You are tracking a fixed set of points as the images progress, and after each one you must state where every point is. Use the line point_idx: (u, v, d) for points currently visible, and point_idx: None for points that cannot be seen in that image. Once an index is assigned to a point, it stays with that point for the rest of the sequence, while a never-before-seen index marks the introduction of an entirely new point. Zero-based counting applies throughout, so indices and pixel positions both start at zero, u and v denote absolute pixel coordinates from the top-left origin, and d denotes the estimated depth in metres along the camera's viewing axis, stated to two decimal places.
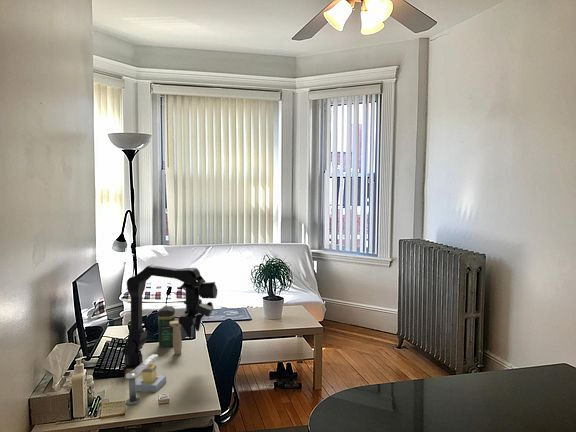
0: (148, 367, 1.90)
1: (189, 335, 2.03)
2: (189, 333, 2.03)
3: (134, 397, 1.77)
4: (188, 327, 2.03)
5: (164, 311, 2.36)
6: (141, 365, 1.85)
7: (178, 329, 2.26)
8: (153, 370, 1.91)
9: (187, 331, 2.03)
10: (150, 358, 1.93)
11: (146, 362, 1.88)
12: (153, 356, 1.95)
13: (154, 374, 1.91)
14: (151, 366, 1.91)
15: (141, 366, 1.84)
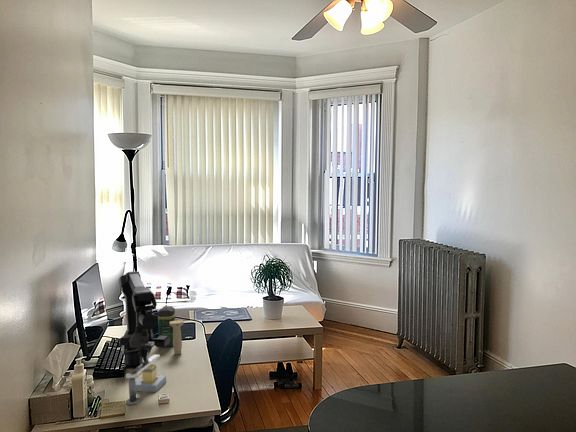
0: (148, 367, 1.90)
1: None
2: None
3: (134, 397, 1.77)
4: None
5: (164, 311, 2.36)
6: (142, 365, 1.85)
7: (178, 329, 2.26)
8: (153, 370, 1.91)
9: None
10: (151, 358, 1.92)
11: (147, 362, 1.88)
12: (155, 356, 1.95)
13: (154, 374, 1.91)
14: (151, 366, 1.91)
15: (142, 366, 1.84)
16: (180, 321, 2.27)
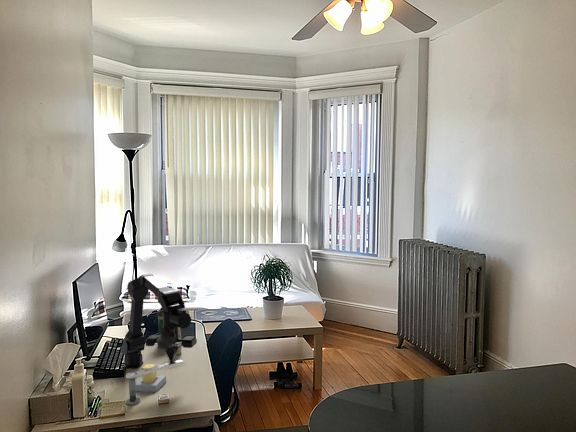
0: (148, 367, 1.90)
1: None
2: None
3: (134, 397, 1.77)
4: None
5: None
6: (153, 368, 1.83)
7: None
8: None
9: None
10: (171, 363, 1.87)
11: (161, 366, 1.84)
12: (177, 361, 1.88)
13: (154, 374, 1.91)
14: (151, 366, 1.91)
15: (151, 369, 1.82)
16: None
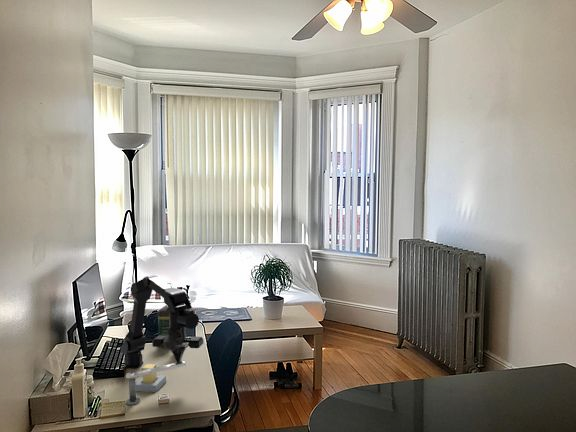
0: (148, 367, 1.90)
1: None
2: None
3: (134, 397, 1.77)
4: None
5: (164, 311, 2.36)
6: (153, 368, 1.82)
7: None
8: None
9: None
10: (173, 364, 1.86)
11: (162, 367, 1.83)
12: (179, 363, 1.87)
13: (154, 374, 1.91)
14: (151, 366, 1.91)
15: (151, 369, 1.81)
16: None
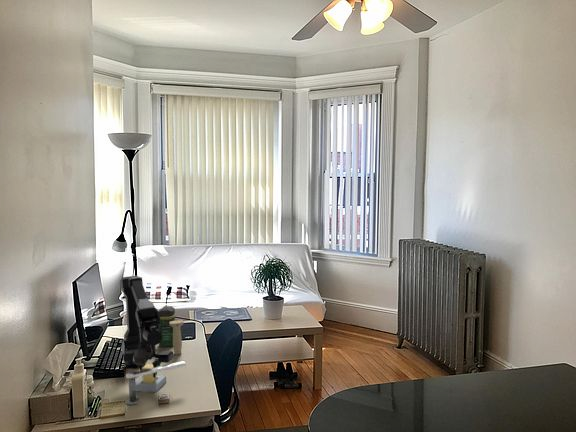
0: (148, 367, 1.90)
1: None
2: None
3: (134, 397, 1.77)
4: None
5: (164, 311, 2.36)
6: (153, 368, 1.82)
7: (178, 329, 2.26)
8: None
9: None
10: (173, 364, 1.85)
11: (162, 367, 1.83)
12: (179, 363, 1.86)
13: None
14: (151, 366, 1.91)
15: (151, 369, 1.81)
16: (180, 321, 2.27)
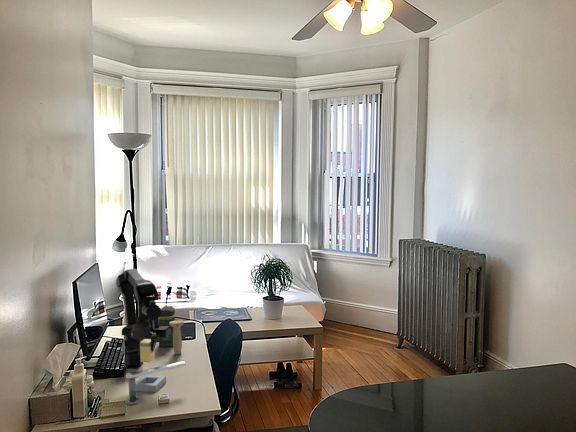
0: (146, 341, 1.94)
1: None
2: None
3: (134, 397, 1.77)
4: None
5: (164, 311, 2.36)
6: (153, 368, 1.82)
7: (178, 329, 2.26)
8: None
9: None
10: (173, 364, 1.85)
11: (162, 367, 1.83)
12: (179, 363, 1.86)
13: None
14: (149, 341, 1.95)
15: (151, 369, 1.81)
16: (180, 321, 2.27)
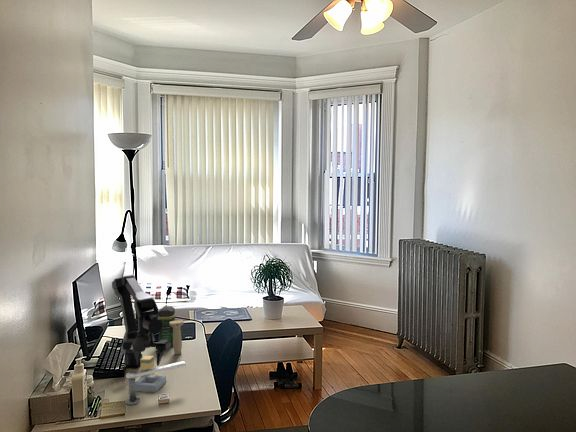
0: (146, 358, 2.00)
1: None
2: None
3: (134, 397, 1.77)
4: None
5: (164, 311, 2.36)
6: (153, 368, 1.82)
7: (178, 329, 2.26)
8: (151, 361, 2.01)
9: None
10: (173, 364, 1.85)
11: (162, 367, 1.83)
12: (179, 363, 1.86)
13: (152, 365, 2.01)
14: (149, 357, 2.01)
15: (151, 369, 1.81)
16: (180, 321, 2.27)
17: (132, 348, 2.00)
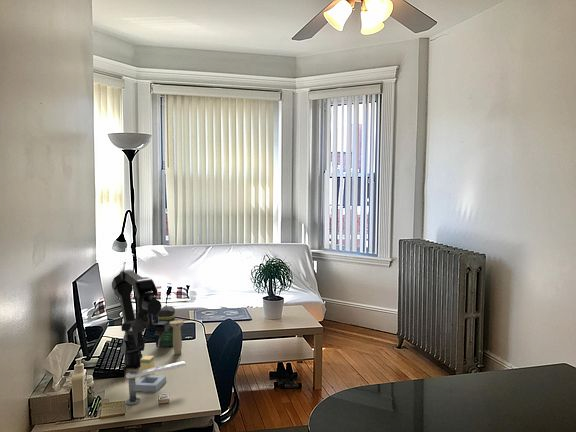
0: (146, 358, 2.00)
1: None
2: None
3: (134, 397, 1.77)
4: None
5: (164, 311, 2.36)
6: (153, 368, 1.82)
7: (178, 329, 2.26)
8: (151, 361, 2.00)
9: None
10: (173, 364, 1.85)
11: (162, 367, 1.83)
12: (179, 363, 1.86)
13: (152, 365, 2.01)
14: (149, 357, 2.01)
15: (151, 369, 1.81)
16: (180, 321, 2.27)
17: (131, 330, 2.00)
